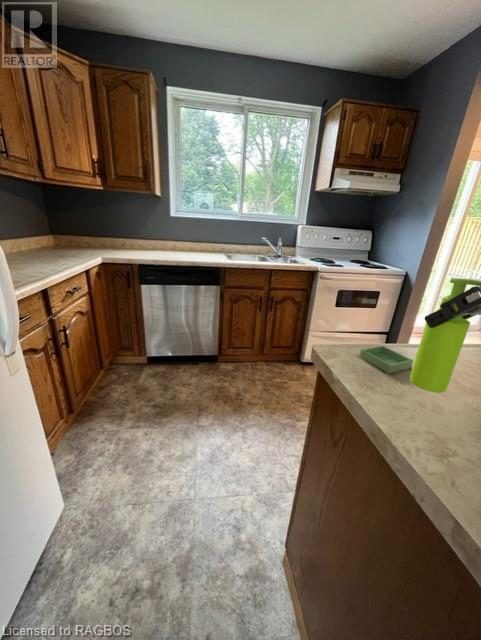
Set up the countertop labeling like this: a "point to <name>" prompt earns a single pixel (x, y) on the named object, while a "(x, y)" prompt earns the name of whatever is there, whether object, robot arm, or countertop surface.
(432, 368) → the soap dispenser
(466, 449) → the countertop surface
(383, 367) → the green tray
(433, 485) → the countertop surface
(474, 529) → the countertop surface
